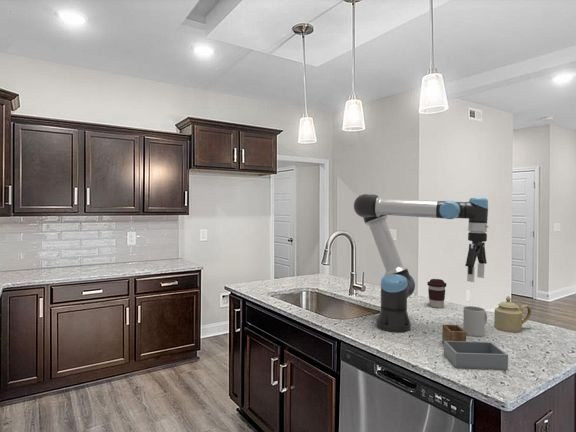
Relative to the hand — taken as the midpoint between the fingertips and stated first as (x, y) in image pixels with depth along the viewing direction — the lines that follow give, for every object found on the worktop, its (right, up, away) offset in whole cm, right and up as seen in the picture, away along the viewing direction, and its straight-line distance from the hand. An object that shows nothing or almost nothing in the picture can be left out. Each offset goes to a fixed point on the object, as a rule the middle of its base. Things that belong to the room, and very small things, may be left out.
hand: (475, 279), depth 171 cm
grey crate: (-17, -24, -34) cm, 45 cm away
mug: (-1, -23, -2) cm, 24 cm away
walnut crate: (-18, -24, -19) cm, 35 cm away
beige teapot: (+19, -23, +5) cm, 30 cm away
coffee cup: (-1, -22, +42) cm, 48 cm away
